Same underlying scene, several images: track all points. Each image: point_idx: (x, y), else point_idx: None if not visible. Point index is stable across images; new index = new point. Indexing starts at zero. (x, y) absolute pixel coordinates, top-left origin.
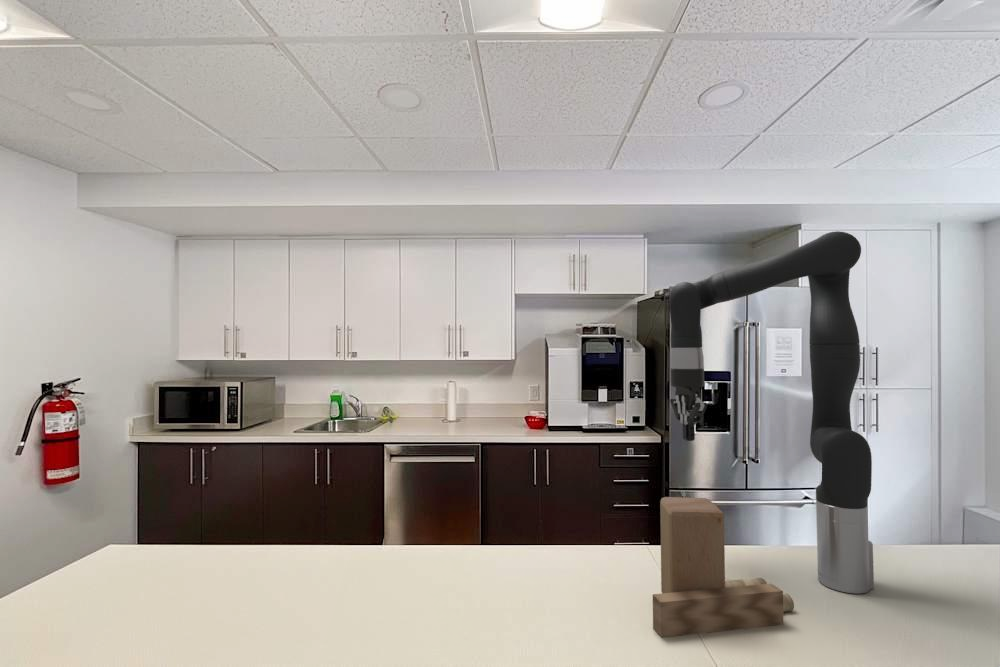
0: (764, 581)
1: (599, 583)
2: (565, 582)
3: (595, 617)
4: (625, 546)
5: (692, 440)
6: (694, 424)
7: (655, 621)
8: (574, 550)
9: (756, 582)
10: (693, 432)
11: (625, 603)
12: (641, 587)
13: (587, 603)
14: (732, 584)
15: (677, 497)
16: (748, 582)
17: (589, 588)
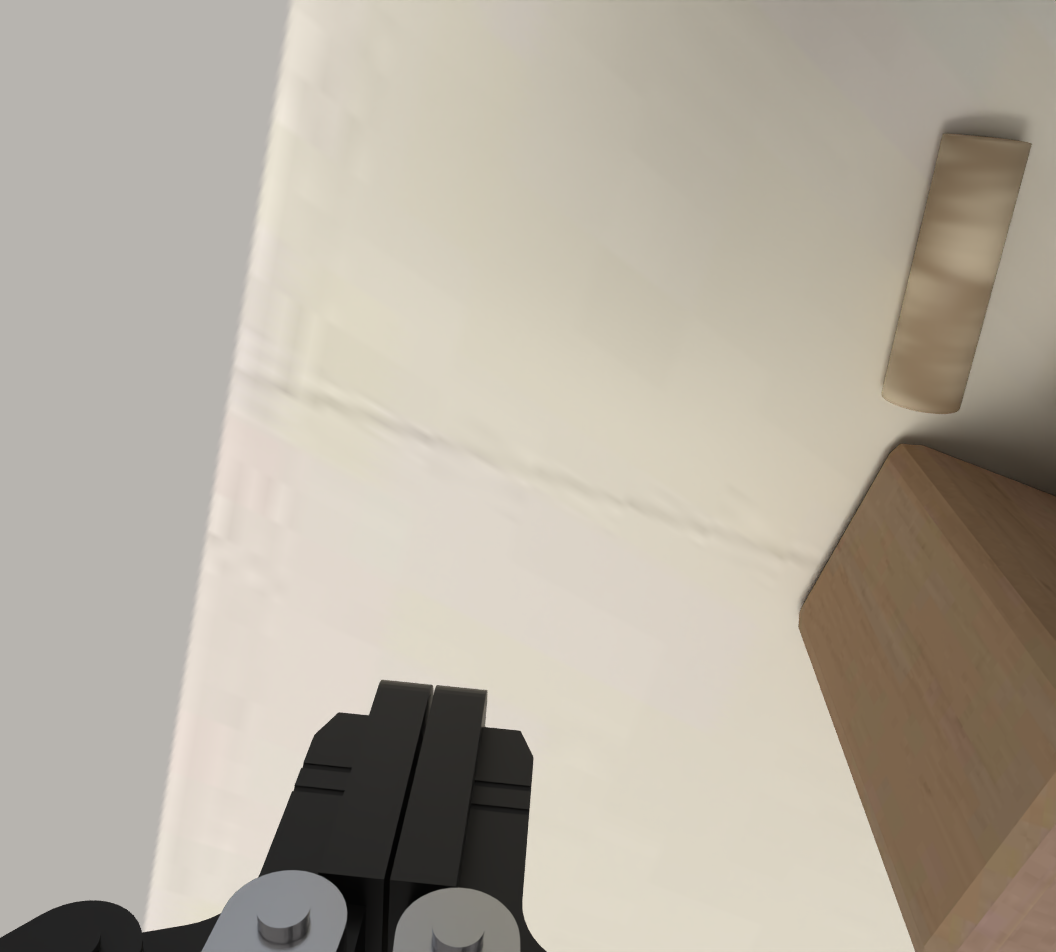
0: (1020, 153)
1: (609, 784)
2: (560, 885)
3: (851, 899)
4: (226, 489)
5: (485, 711)
6: (535, 946)
7: None
8: (240, 736)
9: (1007, 208)
10: (525, 824)
11: (802, 774)
12: (701, 656)
13: (749, 883)
14: (967, 353)
15: (1020, 928)
16: (992, 257)
17: (639, 832)
